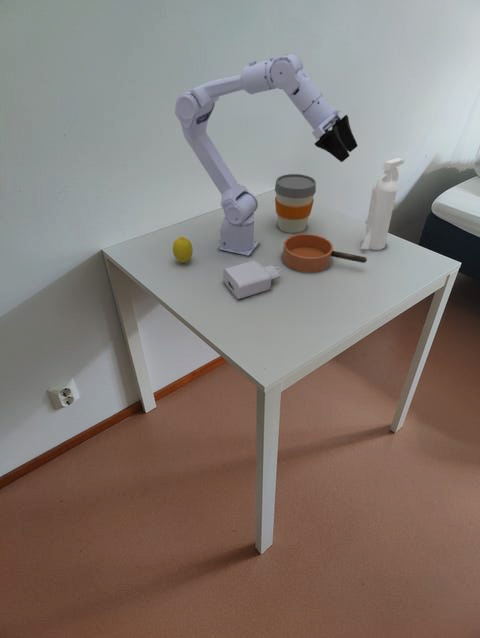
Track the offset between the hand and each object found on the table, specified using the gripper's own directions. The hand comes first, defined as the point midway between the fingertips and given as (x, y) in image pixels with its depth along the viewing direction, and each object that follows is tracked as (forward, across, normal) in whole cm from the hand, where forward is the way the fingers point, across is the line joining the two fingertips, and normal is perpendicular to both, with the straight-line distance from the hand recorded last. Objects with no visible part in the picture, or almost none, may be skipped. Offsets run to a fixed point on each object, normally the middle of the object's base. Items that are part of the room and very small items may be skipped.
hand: (349, 153), depth 93 cm
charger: (+10, -16, +34) cm, 38 cm away
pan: (+16, +2, +28) cm, 32 cm away
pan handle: (+22, +3, +19) cm, 29 cm away
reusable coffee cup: (+8, +19, +36) cm, 41 cm away
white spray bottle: (+27, +18, +18) cm, 37 cm away
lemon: (-7, -15, +49) cm, 52 cm away
